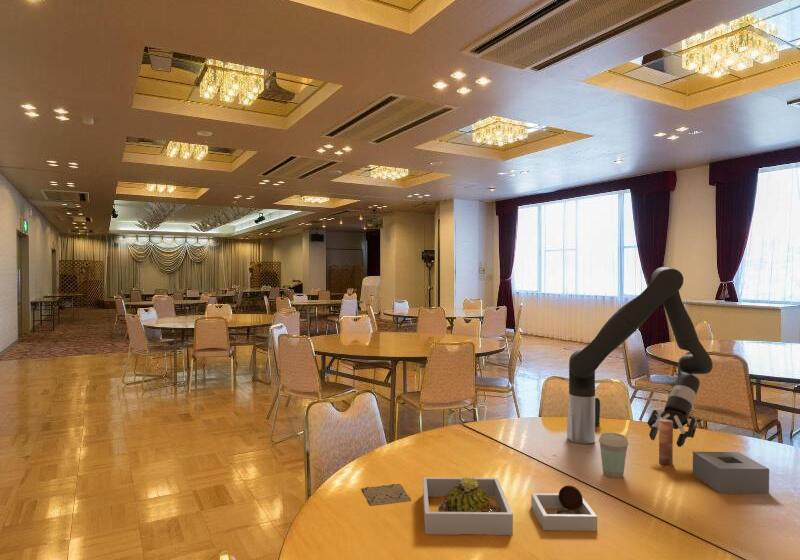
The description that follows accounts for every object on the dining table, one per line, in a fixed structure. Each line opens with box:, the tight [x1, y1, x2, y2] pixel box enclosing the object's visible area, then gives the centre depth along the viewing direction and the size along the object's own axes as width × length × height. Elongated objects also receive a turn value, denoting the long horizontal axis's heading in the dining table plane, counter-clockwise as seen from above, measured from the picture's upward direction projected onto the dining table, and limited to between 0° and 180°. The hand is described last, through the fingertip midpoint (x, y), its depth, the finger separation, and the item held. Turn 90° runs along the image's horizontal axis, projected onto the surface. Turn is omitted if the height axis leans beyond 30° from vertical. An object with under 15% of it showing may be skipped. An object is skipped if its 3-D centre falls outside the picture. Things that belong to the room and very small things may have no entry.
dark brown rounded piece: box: [552, 484, 584, 514], centre depth 134 cm, size 8×8×7 cm
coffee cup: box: [598, 432, 629, 479], centre depth 163 cm, size 8×9×12 cm
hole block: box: [692, 451, 770, 494], centre depth 156 cm, size 14×14×7 cm
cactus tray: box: [422, 476, 514, 536], centre depth 137 cm, size 21×22×5 cm
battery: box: [595, 396, 601, 426], centre depth 216 cm, size 7×4×11 cm, turn 106°
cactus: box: [437, 476, 501, 512], centre depth 136 cm, size 17×16×10 cm
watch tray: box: [530, 492, 598, 532], centre depth 134 cm, size 13×13×4 cm
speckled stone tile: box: [361, 483, 412, 507], centre depth 148 cm, size 12×12×1 cm
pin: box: [658, 418, 674, 466], centre depth 172 cm, size 4×4×14 cm
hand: (664, 442), depth 172 cm, fingers open, 8 cm apart
